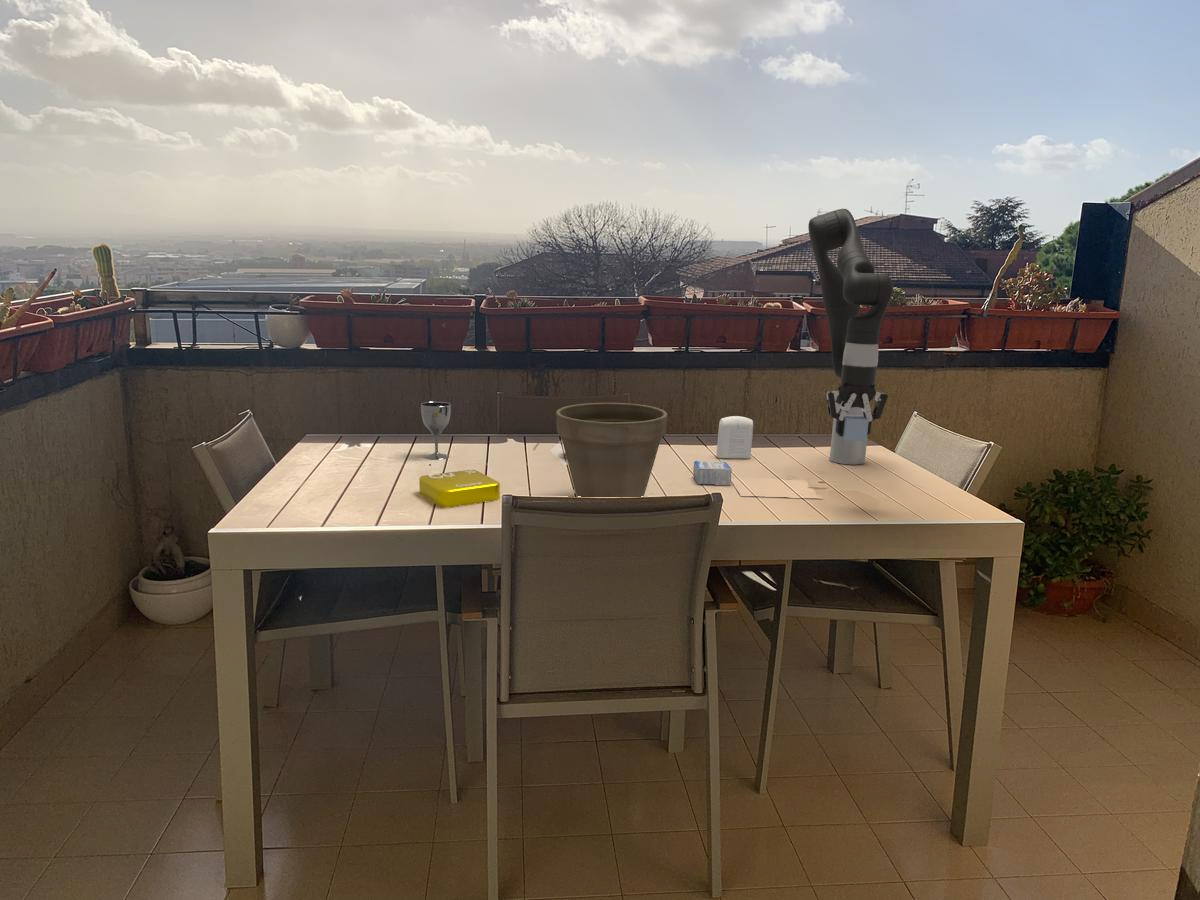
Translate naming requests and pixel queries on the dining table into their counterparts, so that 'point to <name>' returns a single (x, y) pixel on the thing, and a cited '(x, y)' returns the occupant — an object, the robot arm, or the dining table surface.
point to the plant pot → (610, 446)
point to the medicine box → (712, 472)
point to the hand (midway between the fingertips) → (852, 435)
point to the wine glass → (436, 423)
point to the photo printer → (735, 437)
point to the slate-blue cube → (855, 428)
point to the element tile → (459, 488)
